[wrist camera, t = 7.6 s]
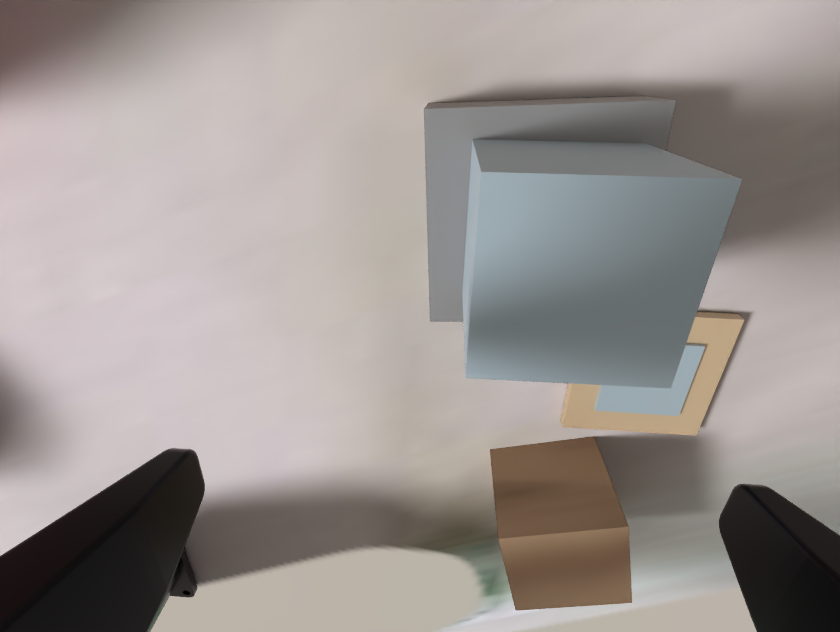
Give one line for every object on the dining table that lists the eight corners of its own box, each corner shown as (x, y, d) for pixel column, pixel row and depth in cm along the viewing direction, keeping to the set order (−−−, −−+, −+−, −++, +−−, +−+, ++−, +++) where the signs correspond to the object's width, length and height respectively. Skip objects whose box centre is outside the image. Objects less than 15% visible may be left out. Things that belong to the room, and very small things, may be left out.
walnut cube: (599, 505, 24) (632, 602, 20) (505, 515, 25) (515, 610, 21) (593, 435, 22) (628, 526, 17) (489, 448, 23) (498, 538, 18)
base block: (605, 285, 19) (630, 321, 16) (433, 286, 19) (430, 321, 16) (637, 95, 15) (676, 100, 13) (428, 102, 16) (423, 108, 13)
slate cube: (609, 298, 16) (670, 388, 11) (462, 292, 16) (465, 378, 11) (645, 143, 13) (742, 178, 9) (472, 139, 13) (481, 171, 9)
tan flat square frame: (691, 428, 21) (698, 438, 20) (560, 419, 21) (563, 429, 21) (737, 313, 18) (747, 322, 18) (585, 305, 19) (590, 313, 18)
